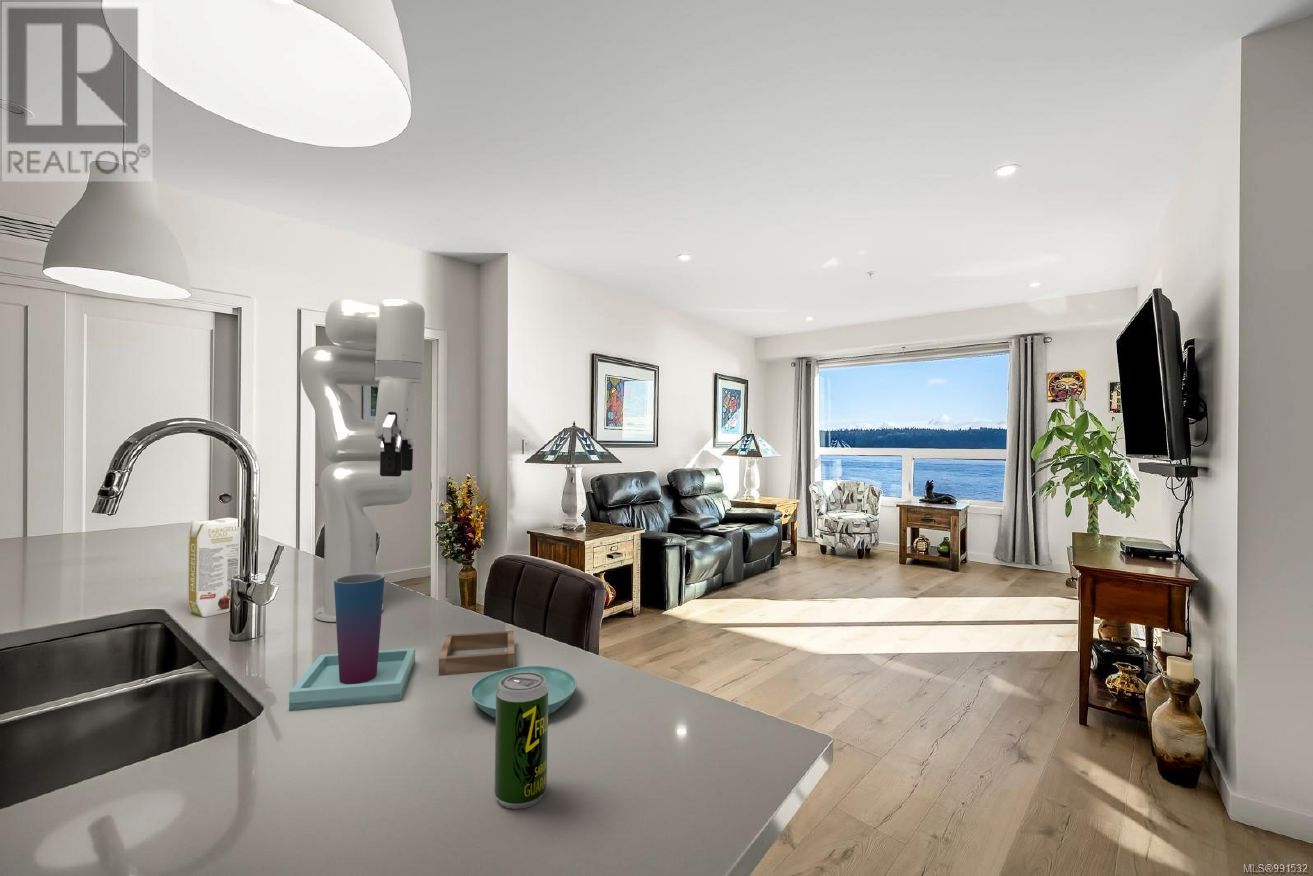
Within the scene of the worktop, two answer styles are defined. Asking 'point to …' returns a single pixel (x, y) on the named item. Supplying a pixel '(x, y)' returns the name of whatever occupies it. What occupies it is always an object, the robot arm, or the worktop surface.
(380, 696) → the tray
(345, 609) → the cup
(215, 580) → the juice carton
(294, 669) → the worktop surface
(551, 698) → the saucer
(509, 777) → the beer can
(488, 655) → the holder
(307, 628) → the worktop surface
